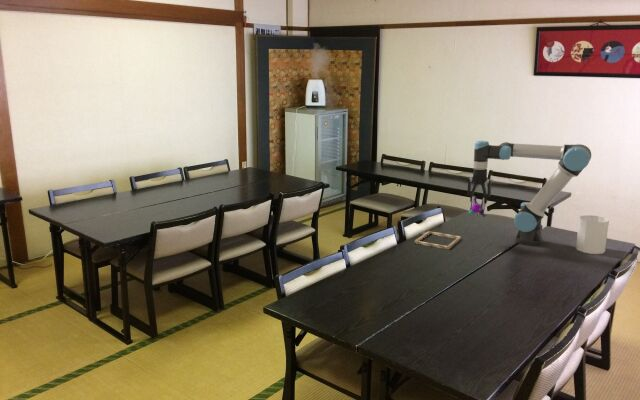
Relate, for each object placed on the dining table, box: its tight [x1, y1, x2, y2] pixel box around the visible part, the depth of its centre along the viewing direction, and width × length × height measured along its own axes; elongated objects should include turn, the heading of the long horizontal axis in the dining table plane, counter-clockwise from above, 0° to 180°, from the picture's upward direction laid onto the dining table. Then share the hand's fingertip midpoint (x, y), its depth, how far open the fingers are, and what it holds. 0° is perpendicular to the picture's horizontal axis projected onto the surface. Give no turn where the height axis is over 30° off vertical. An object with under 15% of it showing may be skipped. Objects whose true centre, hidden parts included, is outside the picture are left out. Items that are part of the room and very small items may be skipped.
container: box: [575, 214, 610, 255], centre depth 295 cm, size 14×14×18 cm
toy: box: [467, 196, 487, 218], centre depth 306 cm, size 12×10×15 cm
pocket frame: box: [413, 230, 462, 250], centre depth 312 cm, size 23×22×2 cm
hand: (478, 208), depth 308 cm, fingers closed on toy, 5 cm apart
